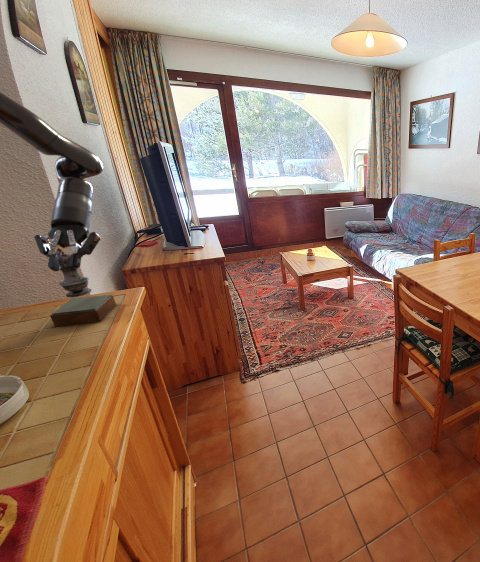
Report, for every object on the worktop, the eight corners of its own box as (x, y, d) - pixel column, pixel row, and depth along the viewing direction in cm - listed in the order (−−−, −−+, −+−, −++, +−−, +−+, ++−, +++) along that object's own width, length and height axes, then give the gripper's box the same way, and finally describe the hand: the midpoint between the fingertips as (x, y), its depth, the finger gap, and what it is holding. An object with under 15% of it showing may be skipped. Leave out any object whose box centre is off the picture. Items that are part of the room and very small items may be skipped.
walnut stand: (54, 326, 81) (49, 314, 80) (75, 309, 90) (70, 298, 88) (100, 321, 84) (95, 309, 83) (116, 305, 93) (112, 293, 91)
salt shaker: (58, 296, 82) (39, 253, 78) (82, 287, 88) (66, 247, 83) (75, 299, 81) (57, 255, 76) (98, 289, 86) (83, 248, 82)
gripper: (29, 205, 80) (16, 265, 74) (95, 203, 84) (88, 260, 78) (50, 221, 87) (40, 277, 81) (110, 219, 91) (104, 272, 85)
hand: (63, 269), depth 80 cm, fingers closed on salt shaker, 3 cm apart
